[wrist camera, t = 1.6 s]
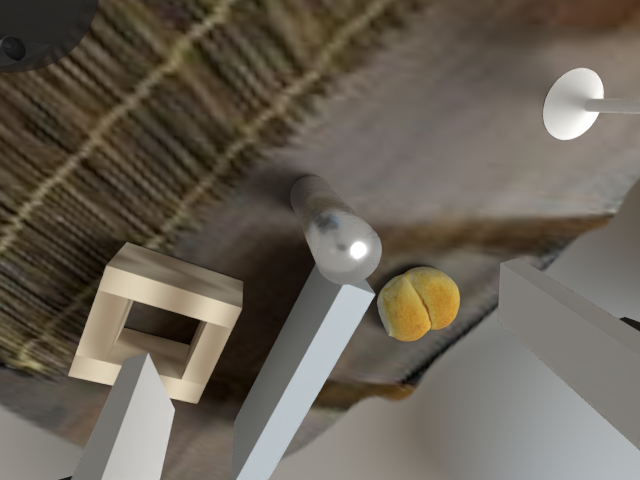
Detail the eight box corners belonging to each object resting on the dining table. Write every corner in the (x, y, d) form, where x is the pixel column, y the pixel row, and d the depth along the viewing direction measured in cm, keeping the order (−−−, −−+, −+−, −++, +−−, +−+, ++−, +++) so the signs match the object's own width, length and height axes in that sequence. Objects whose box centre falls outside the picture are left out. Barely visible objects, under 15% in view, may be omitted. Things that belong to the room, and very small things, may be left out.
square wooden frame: (92, 339, 35) (68, 375, 30) (126, 242, 32) (106, 265, 27) (203, 367, 38) (197, 403, 34) (243, 281, 35) (242, 308, 31)
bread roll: (456, 310, 42) (475, 330, 39) (386, 339, 42) (399, 361, 38) (443, 251, 39) (463, 266, 35) (367, 281, 39) (380, 300, 35)
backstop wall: (233, 422, 42) (230, 490, 34) (324, 245, 36) (344, 282, 29) (257, 427, 43) (259, 494, 35) (350, 256, 37) (375, 294, 30)
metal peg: (283, 206, 34) (304, 271, 21) (301, 168, 33) (335, 211, 20) (320, 222, 35) (361, 293, 22) (338, 185, 34) (393, 237, 21)
